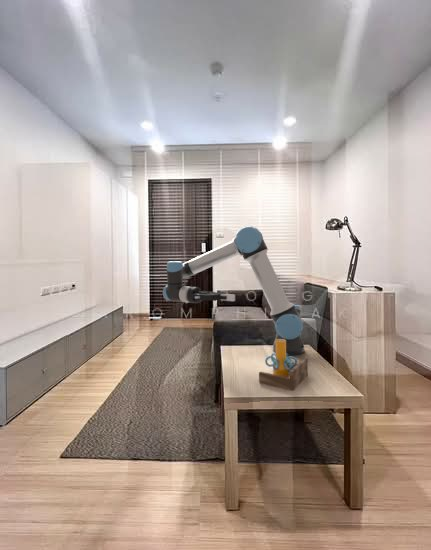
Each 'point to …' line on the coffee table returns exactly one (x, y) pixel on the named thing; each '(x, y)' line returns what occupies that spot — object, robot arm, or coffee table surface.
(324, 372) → the coffee table surface
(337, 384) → the coffee table surface
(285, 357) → the cylinder
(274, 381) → the pocket
